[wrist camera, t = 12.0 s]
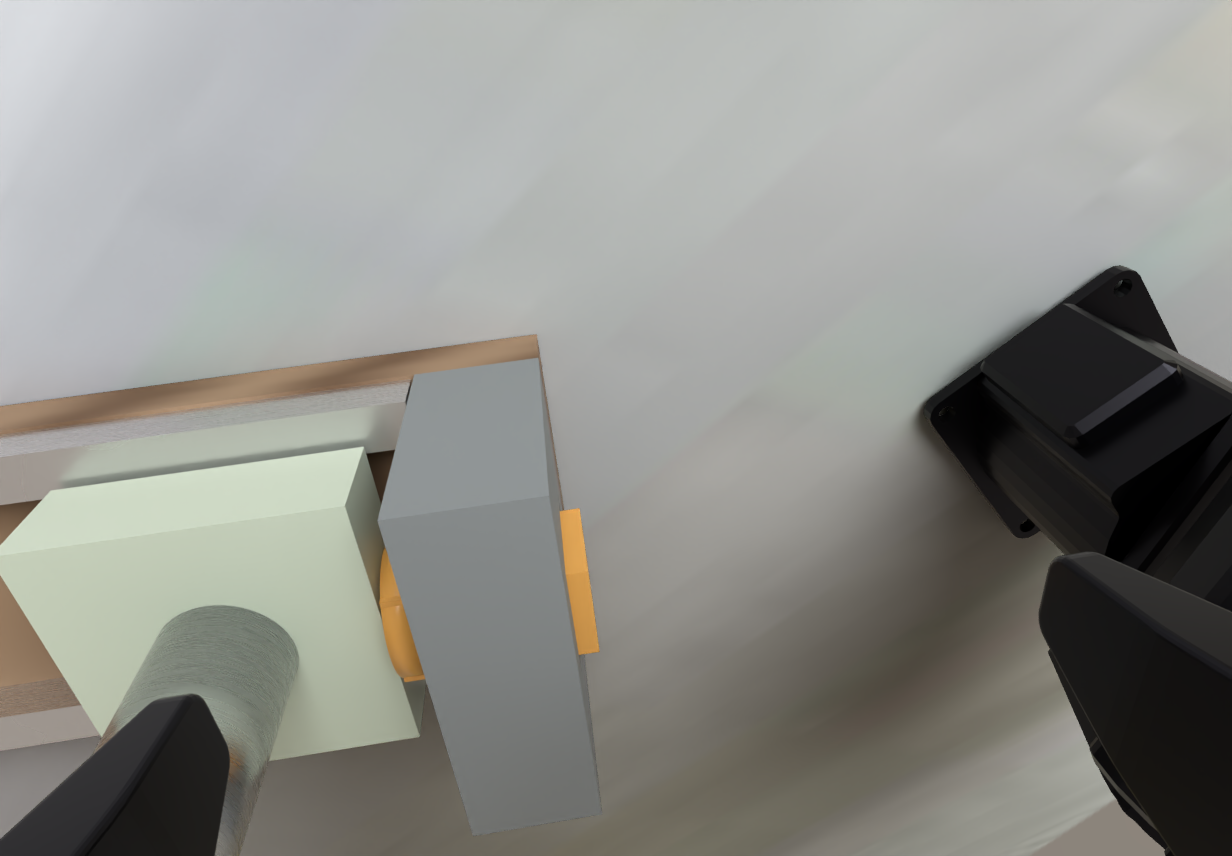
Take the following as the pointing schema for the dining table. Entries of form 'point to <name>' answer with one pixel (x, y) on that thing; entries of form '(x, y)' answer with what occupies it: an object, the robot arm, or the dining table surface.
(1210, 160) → the dining table surface
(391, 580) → the gauge plunger
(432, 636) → the rail
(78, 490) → the carriage
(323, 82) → the dining table surface
